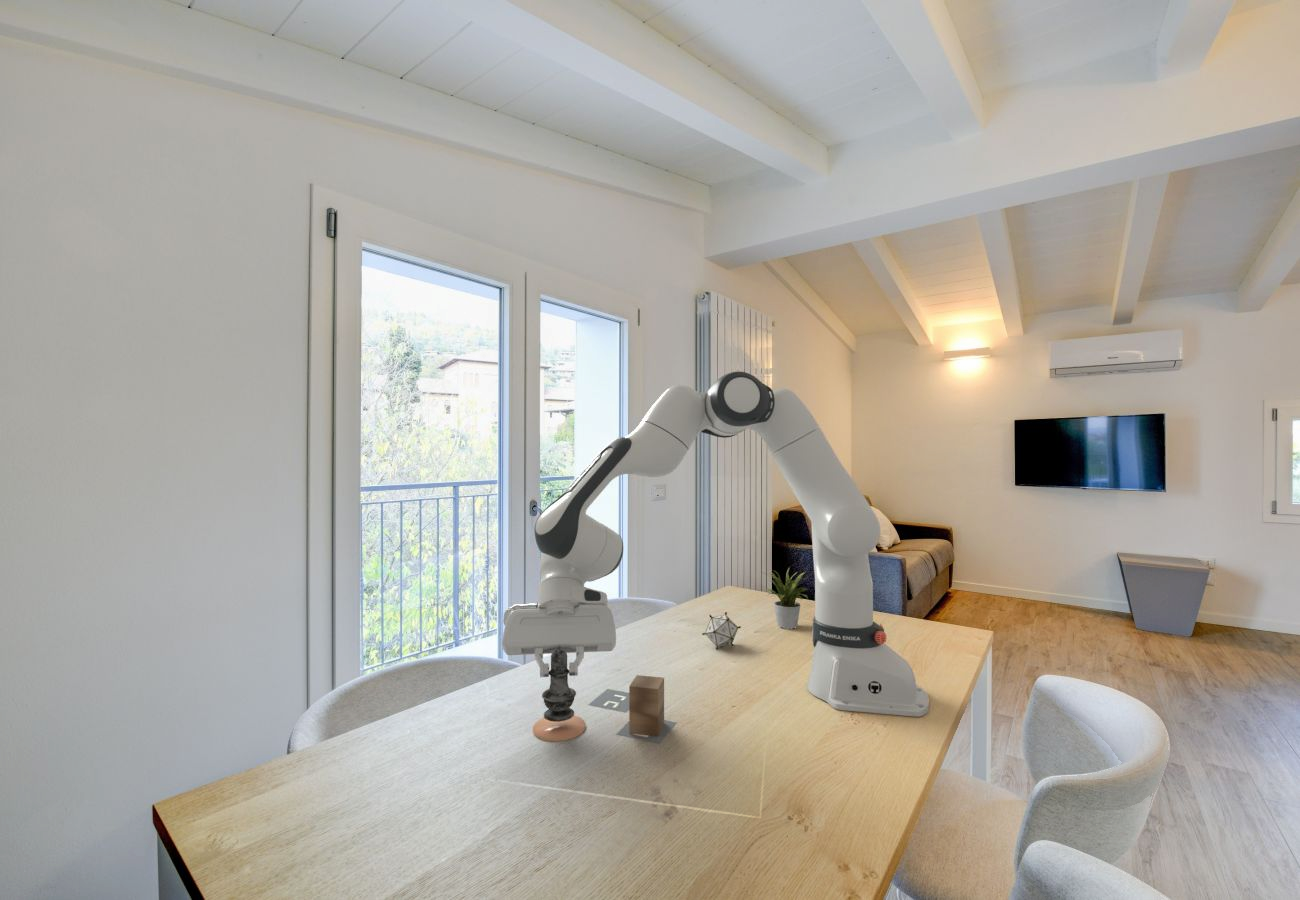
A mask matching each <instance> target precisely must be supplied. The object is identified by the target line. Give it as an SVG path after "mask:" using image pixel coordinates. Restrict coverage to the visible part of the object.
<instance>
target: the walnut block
mask: <svg viewBox="0 0 1300 900" xmlns="http://www.w3.org/2000/svg"><path fill="white" fill-rule="evenodd" d="M628 689H629V690H628V693H629V710H628V713H629V714H628V715H629V716H628V717H629V718H628V719H629V721H628V722H629V733H631V734H640V735H648V736H657V737H658V736H659V733H660V731H661V729H662V727H663V725H664V720H665V677H664V676H663V677H662V676H650V675H639V674H637V675H635V677H634V679H633V680H632V681H631V683H630V684H629V688H628Z"/></svg>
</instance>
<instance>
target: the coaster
mask: <svg viewBox="0 0 1300 900" xmlns="http://www.w3.org/2000/svg"><path fill="white" fill-rule="evenodd" d="M585 730H586V721H585V720H584V719H583V718H582V717H580V716H578V715H575V714H574V716H573V717H572V718H570V719H568V720H565V721H559V722H554V721H549V720H547V719H545V718H544V717H542V718H541V719H538V720H536V722H535V723H534V724H533V727H532V733H534V734H533V735H534V737H536V738H537V737H538V738H537V739H539V738H540V740H542V739H543V741H545V740H548V741H547V742H565V741H568V740H569V739H570V740H573V739H574V738H575V739H576V738H578V737H579V736H580V735H582V734H583V733H584V732H585ZM564 740H565V741H564Z"/></svg>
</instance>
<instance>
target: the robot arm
mask: <svg viewBox="0 0 1300 900" xmlns="http://www.w3.org/2000/svg"><path fill="white" fill-rule="evenodd" d="M747 429H749V430H752V431H754V433H757V434H758V436H760V438H761V439H762V440H763V442H764V443H765V446H766V447H767V449H768V451H769V452H770V455H771V456H772V458H773V460H774V461H775V463H776V465H777V467H778V469H779V470H780V472H781V474H782V475H783V478H784V479H785V481H786V482H787V485H788V486H789V488H790V489H791V491H792V492H793V494H794V496H795V497H796V498H797V501H798V502H799V503H800V505H801V507H802V509H803V510H804V512H805V514H806V515H807V517H808V519H809V521H810V522H811V540H812V541H811V542H812V544H811V545H812V559H813V570H814V571H813V572H814V591H815V592H814V611H815V612H814V615H815V616H814V617H813V619H812V625H811V626H812V630H811V632H812V634H811V635H812V637H811V638H812V645H813V655H812V656H813V657H812V663H811V668H810V673H809V676H808V681H807V684H806V688H807V690H808V692H809V693H810V694H812V695H813V696H815V697H817V698H818V699H820V700H823V701H824V702H827V703H828V704H829V706H831V707H833V708H834V709H836V710H840V711H848V712H849V711H850V712H860V713H870V714H882V715H883V714H884V715H894V716H895V715H896V716H905V717H907V716H908V717H917V718H918V717H922V716H924V715H925V714H927V713H928V712H929V710H930V700H929V696H928V694H927V691H926V690H925V689H924V688H922V686H920V685H919V684H917V683H916V682H917V681H916V677H915V674H914V670H913V668H912V667H911V665H910V663H909V662H908V661H907V660H906V659H905V658H904V657H902V656H901V655H900V654H899V653H897V652H896V651H895V650H893V648H891V647H889V646H888V645H887V644H886V641H887V635H886V633H885V628H883V624H881V623H880V624H878V623H876V621H874V583H873V578H872V573H871V572H872V571H871V568H870V565H871V564H870V560H869V559H870V558H869V553H871V552H872V551H873V550H874V549H875V548H876V546H877V545H878V543H879V541H880V538H881V525H880V521H879V519H878V517H877V515H876V513H875V511H874V509H873V508H872V507H871V505H870V504H869V502H868V500H867V499H866V497H865V496H864V494H863V493H862V491H861V490H860V488H859V487H858V485H857V484H856V482H855V481H854V480H853V478H852V476H851V475H850V473H848V471H847V470H846V468H845V467H844V466H843V464H842V463H841V460H839V458H838V456H837V454H836V452H835V451H834V449H833V448H832V446H831V443H830V442H829V441H828V438H827V437H826V435H825V433H824V432H823V430H822V429H821V427H820V425H819V424H818V422H817V420H816V419H815V417H814V416H813V414H812V413H811V412H810V410H809V408H808V407H807V406H806V405H805V403H804V402H803V401H802V400H801V399H800V397H798V395H796V393H795V392H794V391H792V390H791V389H787V388H778V389H774V390H773V389H772V388H771V386H770V387H769V386H768V385H766V384H765V383H763V382H762V381H761V380H759V379H758V378H757V377H756V376H755V375H753V374H751V373H748V372H746V371H732V372H729V373H726V374H723V375H722V376H721V377H719V378H718V379H717V380H716V381H715V382H714V384H712V385H711V387H710V388H709V389H708V390H706V391H705V392H701V391H700V392H699V391H697V390H695V389H693V388H692V387H689V386H686V385H681V384H677V385H676V384H675V385H672V386H669V387H668V388H667V389H666V390H665V391H664V392H663V393H662V394H661V395H660V396H659V397H658V399H657V400H656V401H655V402H654V403H653V404H652V405H651V407H650V409H649V410H648V411H647V412H646V414H645V415H644V417H643V418H642V420H641V421H640V423H639V424H638V425H637V427H636V428H635V429H634V430H633V431H632V432H630V433H629V434H628V435H626V436H624V437H622V436H618V437H616V438H613V439H612V440H611V441H610V442H609V443H607V444H606V445H605V446H604V447H603V448H602V449H601V450H600V451H599V452H598V454H597V455H596V456H595V457H594V458H593V459H592V460H591V461H590V462H589V463H588V464H587V466H586V467H585V468H584V469H583V470H582V471H581V472H580V474H578V476H577V477H575V479H574V480H573V481H572V483H570V485H569V486H567V488H566V489H565V490H564V491H563V493H561V495H559V496H558V497H557V499H555V500H554V501H553V502H551V504H549V505H548V506H547V507H545V509H544V510H542V512H541V513H539V516H538V517H537V519H536V522H535V524H534V529H533V530H534V537H535V538H534V540H535V543H536V546H537V548H538V550H539V551H540V557H539V558H540V559H539V560H540V561H539V574H540V582H539V584H538V587H537V588H538V591H537V603H526V604H519V603H517V604H513V605H512V606H510V607H508V608H506V609H505V611H504V613H503V620H502V622H503V625H504V629H503V634H502V639H501V640H502V641H501V646H502V650H503V652H504V653H505V654H506V655H507V656H519V655H520V656H521V655H525V656H526V655H534V660H535V661H536V663H537V665H538V667H539V677H540V678H550V675H549V671H550V664H549V663H550V662H549V663H547V662H544V660H543V659H544V655H549V654H552V653H553V652H554V651H556V650H558V648H557V647H558V646H559V645H560V647H561V648H560V649H561V650H563V651H565V652H566V653H567V654H571V653H572V654H573V653H575V660H574V661H573V662H569V666H568V667H569V668H568V670H569V674H568V677H577V676H578V673H579V666H580V665H581V663H582V662H583V659H584V658H585V653H595V652H596V653H597V652H598V653H599V652H612V651H613V650H614V649H615V648H616V644H617V632H616V626H615V625H616V624H615V620H614V615H613V612H612V610H611V608H610V607H609V604H608V603H609V602H608V595H607V593H606V592H604V591H601V590H596V589H594V588H593V589H592V588H590V587H586V586H585V584H586V583H587V582H590V583H591V582H595V581H596V580H599V579H602V578H604V577H607V576H608V575H610V574H612V573H613V572H614V571H616V570H617V568H618V567H619V565H620V564H621V563H622V559H623V556H624V542H623V539H622V536H621V535H620V534H618V533H617V532H616V531H614V530H612V529H611V527H608V526H606V525H605V524H604V523H601V522H599V521H597V520H596V519H594V518H593V517H592V516H589V514H587V510H588V509H589V507H590V506H592V504H593V503H594V501H595V500H597V498H598V497H599V495H601V493H602V492H603V491H604V490H605V488H606V487H607V486H608V485H609V484H610V483H611V482H612V481H613V480H614V479H615V478H618V477H619V476H623V475H636V476H641V477H647V478H660V477H665V476H667V475H669V474H672V472H674V470H676V469H677V467H679V465H680V464H681V462H682V461H683V460H684V459H685V456H686V454H687V453H688V451H689V450H690V448H691V447H692V445H693V443H694V441H695V440H696V438H697V437H698V436H699V435H700V433H702V434H707V435H710V436H714V437H717V438H732V437H735V436H737V435H738V434H740V433H742V432H744V431H746V430H747Z"/></svg>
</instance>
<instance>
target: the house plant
mask: <svg viewBox="0 0 1300 900" xmlns="http://www.w3.org/2000/svg"><path fill="white" fill-rule="evenodd" d="M790 567H791V566H789V567H788V568H787V570H786V572H785V575H786V576H785V585H784V583H783V581H782V580H781V577H780V575H779V573H778V572H777V571H776V570H773V569H772V571H773V572H774V573H773V572H772V571H770V573H769V574H770V575H771V576H772V577H771V576H770V575H768V576H769V577H770V579H771V582H772V583H773V585H774V586H775V588H776V590H777V592H778V593H777V592H776V591H775V590H774V589H770V588H768V589H766V590H765V592H769V593H767V594H768V595H769V594H771V595H772V594H773V595H776V596H777V597H778V599H779V600H777V601H775V602H774V603H773V605H774V609H775V610H774V611H775V617H776V623H777V627H778V626H780V627H783V628H795V627H797V628H798V622H799V615H800V609H801V603H799V602H797V601H796V600H797V598H798V599H800V600H801V601H802V600H803V597H805V598H806V599H807V600H809V597H808V595H807V594H805V593H802V592H804V591H809V588H806V587H799V588H797V587H798V586H799V583H800V582H801V580H802V581H803V580H805V579H809V577H806V578H803V579H802V577H803V575H805V573H806V571H805V572H802V573H800V574H799V575H797V577H796V578H795V579H794V580H792V578H793V577H794V576H795V575H796V574H797V572H795V573H794V574H793V575H792V576H791V577H790V576H789V571H790ZM760 573H762V574H765V575H766V572H765V573H764V572H761V571H760ZM775 573H776V574H777V576H778V577H777V576H776V574H775ZM772 578H773V579H772ZM800 595H801V596H800ZM802 596H803V597H802Z"/></svg>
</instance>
